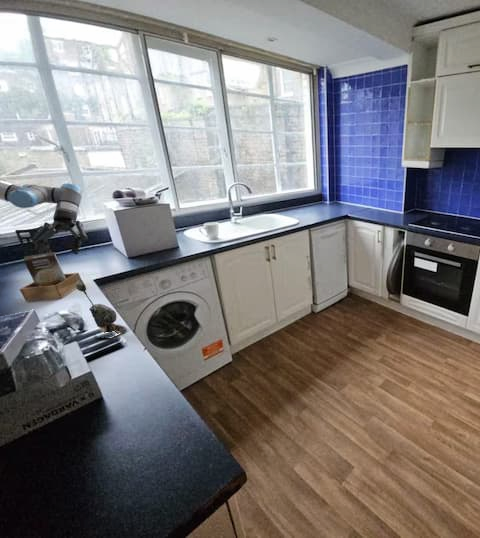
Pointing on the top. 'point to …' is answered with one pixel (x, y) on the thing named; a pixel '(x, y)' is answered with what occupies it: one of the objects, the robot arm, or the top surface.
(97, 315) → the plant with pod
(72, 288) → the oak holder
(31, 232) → the holder
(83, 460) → the top surface
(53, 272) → the coffee box
